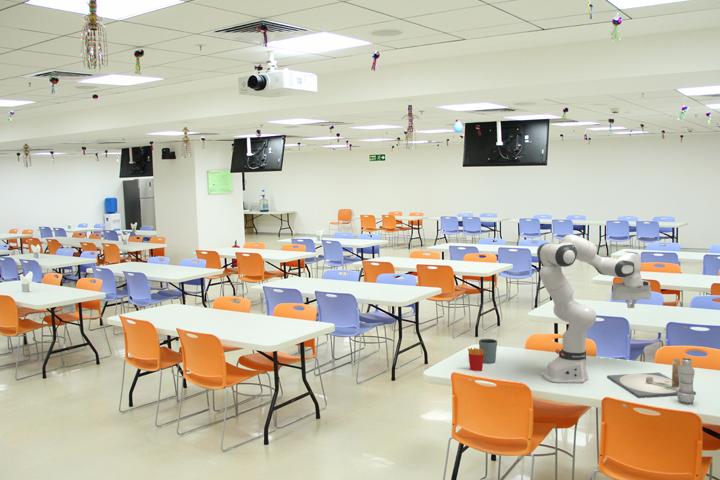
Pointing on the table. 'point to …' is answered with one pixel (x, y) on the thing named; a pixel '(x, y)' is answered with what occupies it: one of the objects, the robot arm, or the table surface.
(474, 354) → the french fries
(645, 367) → the table surface
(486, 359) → the grey bucket
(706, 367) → the table surface
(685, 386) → the plastic bottle
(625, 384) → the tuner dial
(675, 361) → the needle lever
